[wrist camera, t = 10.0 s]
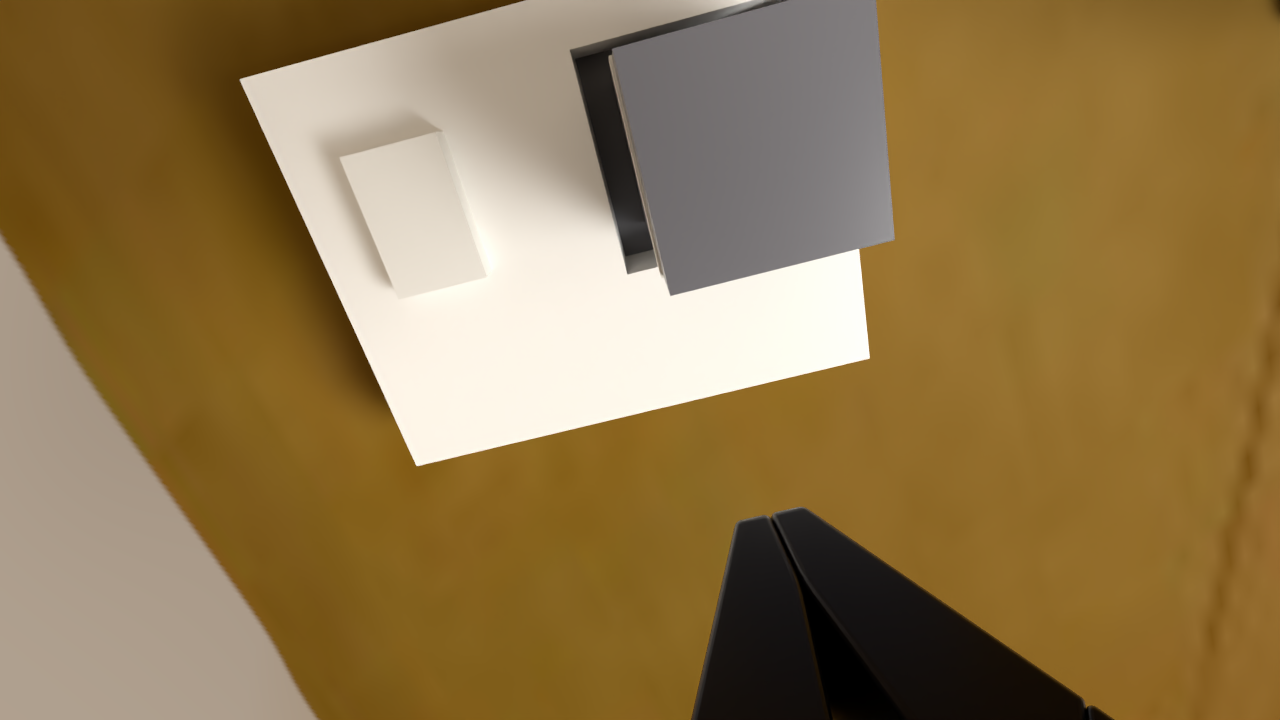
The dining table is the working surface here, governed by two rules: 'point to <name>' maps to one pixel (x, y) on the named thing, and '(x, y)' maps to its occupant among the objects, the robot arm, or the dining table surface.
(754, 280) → the socket plate
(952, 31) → the dining table surface
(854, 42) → the plug
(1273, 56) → the dining table surface
